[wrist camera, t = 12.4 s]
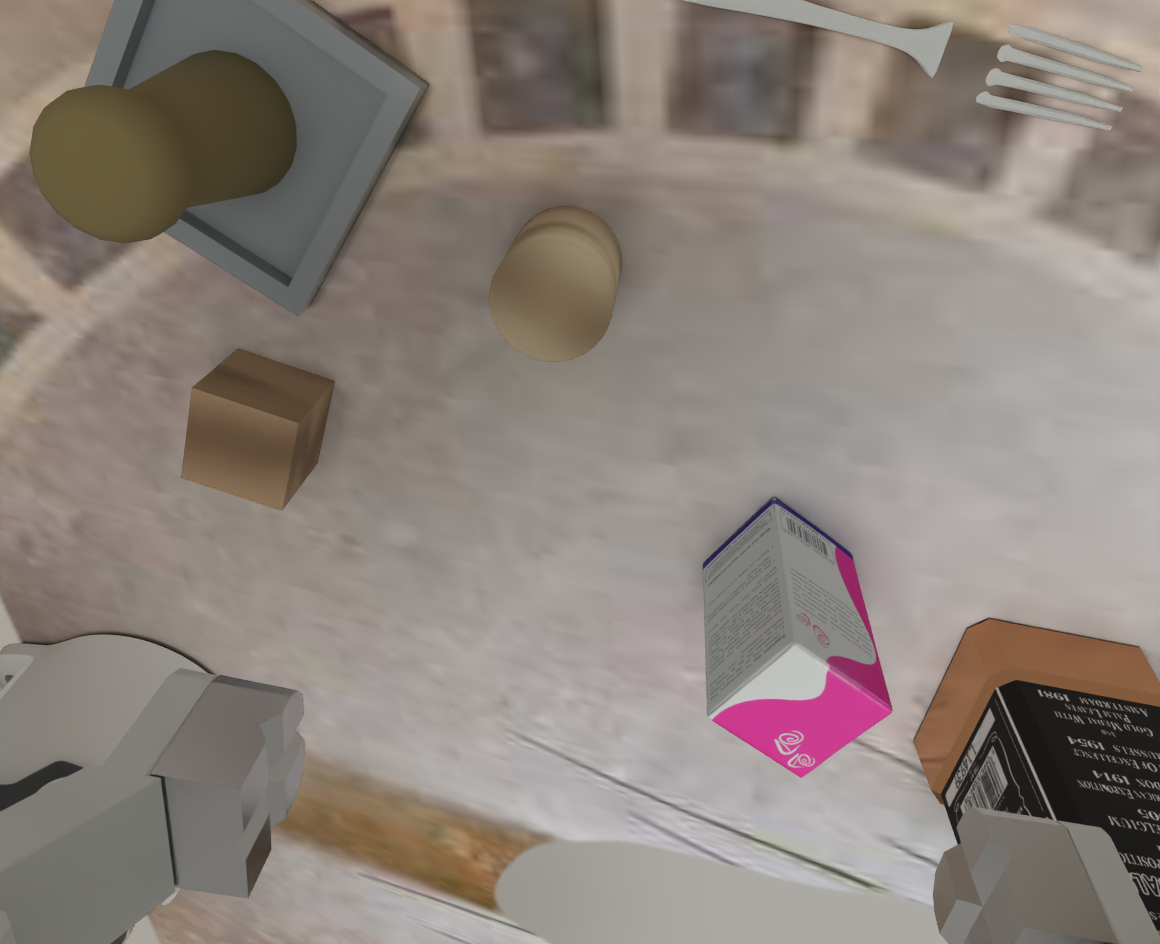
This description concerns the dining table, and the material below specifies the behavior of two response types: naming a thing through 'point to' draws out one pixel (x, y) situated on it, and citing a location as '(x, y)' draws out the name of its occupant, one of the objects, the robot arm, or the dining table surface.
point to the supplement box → (789, 642)
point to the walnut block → (256, 428)
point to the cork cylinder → (557, 285)
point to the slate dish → (323, 125)
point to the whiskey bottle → (1051, 738)
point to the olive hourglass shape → (162, 145)
